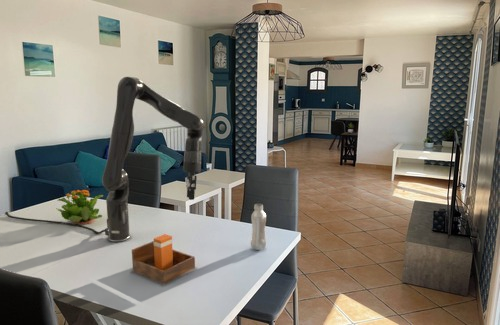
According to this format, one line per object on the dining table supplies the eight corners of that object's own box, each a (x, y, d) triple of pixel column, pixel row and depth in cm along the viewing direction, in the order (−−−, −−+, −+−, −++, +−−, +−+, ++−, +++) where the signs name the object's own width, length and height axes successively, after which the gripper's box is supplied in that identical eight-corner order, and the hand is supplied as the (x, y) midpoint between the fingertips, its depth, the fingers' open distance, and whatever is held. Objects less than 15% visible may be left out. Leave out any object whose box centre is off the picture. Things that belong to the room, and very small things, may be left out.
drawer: (132, 271, 143) (131, 249, 142) (164, 257, 156) (163, 237, 154) (164, 285, 133) (163, 261, 132) (195, 268, 146) (194, 247, 144)
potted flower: (117, 220, 202) (115, 188, 199) (77, 233, 182) (74, 199, 179) (89, 212, 215) (86, 182, 212) (48, 224, 196) (45, 192, 193)
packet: (154, 270, 143) (153, 238, 141) (166, 265, 148) (164, 233, 145) (162, 273, 141) (160, 240, 139) (173, 268, 145) (172, 236, 143)
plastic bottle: (250, 246, 167) (250, 202, 164) (265, 245, 168) (265, 202, 164) (251, 252, 161) (251, 207, 158) (267, 251, 162) (267, 206, 158)
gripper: (182, 160, 169) (180, 196, 169) (185, 161, 155) (183, 200, 155) (198, 161, 171) (196, 197, 171) (203, 162, 157) (201, 200, 157)
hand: (190, 198), depth 163 cm, fingers open, 8 cm apart
